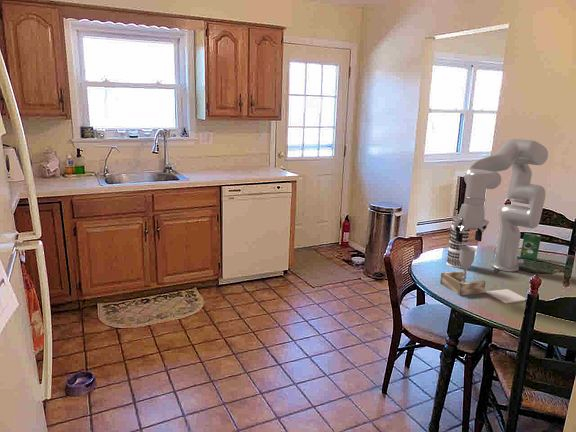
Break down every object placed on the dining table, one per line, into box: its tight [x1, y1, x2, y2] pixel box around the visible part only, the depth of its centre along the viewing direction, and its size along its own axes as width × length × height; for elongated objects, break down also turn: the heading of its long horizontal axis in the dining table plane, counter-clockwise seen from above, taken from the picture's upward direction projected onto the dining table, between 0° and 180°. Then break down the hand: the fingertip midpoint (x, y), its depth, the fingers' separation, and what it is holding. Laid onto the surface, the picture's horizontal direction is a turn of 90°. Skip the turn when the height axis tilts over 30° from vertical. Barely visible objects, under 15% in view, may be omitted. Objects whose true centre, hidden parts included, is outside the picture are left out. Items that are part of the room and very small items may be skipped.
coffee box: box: [519, 232, 542, 261], centre depth 236 cm, size 8×3×13 cm, turn 58°
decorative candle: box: [446, 214, 471, 269], centre depth 221 cm, size 9×9×25 cm
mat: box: [486, 288, 527, 304], centre depth 187 cm, size 11×11×1 cm
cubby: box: [439, 270, 487, 296], centre depth 194 cm, size 12×13×5 cm
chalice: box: [459, 245, 477, 283], centre depth 193 cm, size 7×7×18 cm
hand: (468, 241), depth 189 cm, fingers open, 9 cm apart
